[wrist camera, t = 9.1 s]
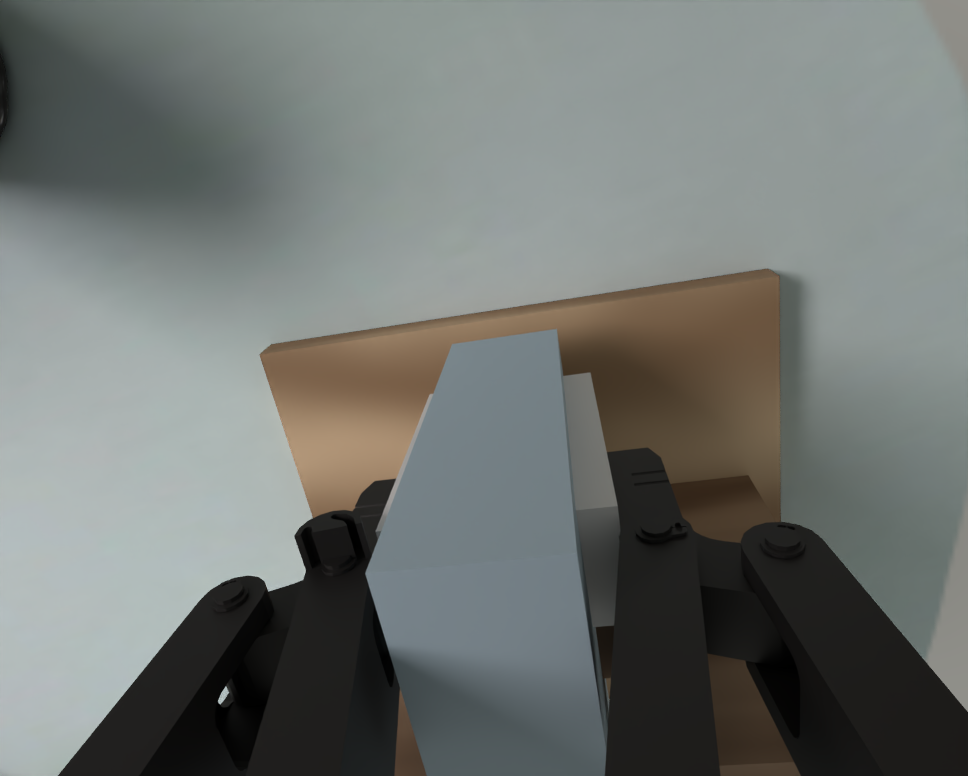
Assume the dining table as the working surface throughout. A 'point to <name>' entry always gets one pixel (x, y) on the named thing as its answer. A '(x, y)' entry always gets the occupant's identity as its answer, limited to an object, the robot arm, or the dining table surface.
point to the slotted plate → (493, 574)
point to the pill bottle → (3, 96)
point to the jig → (624, 420)
